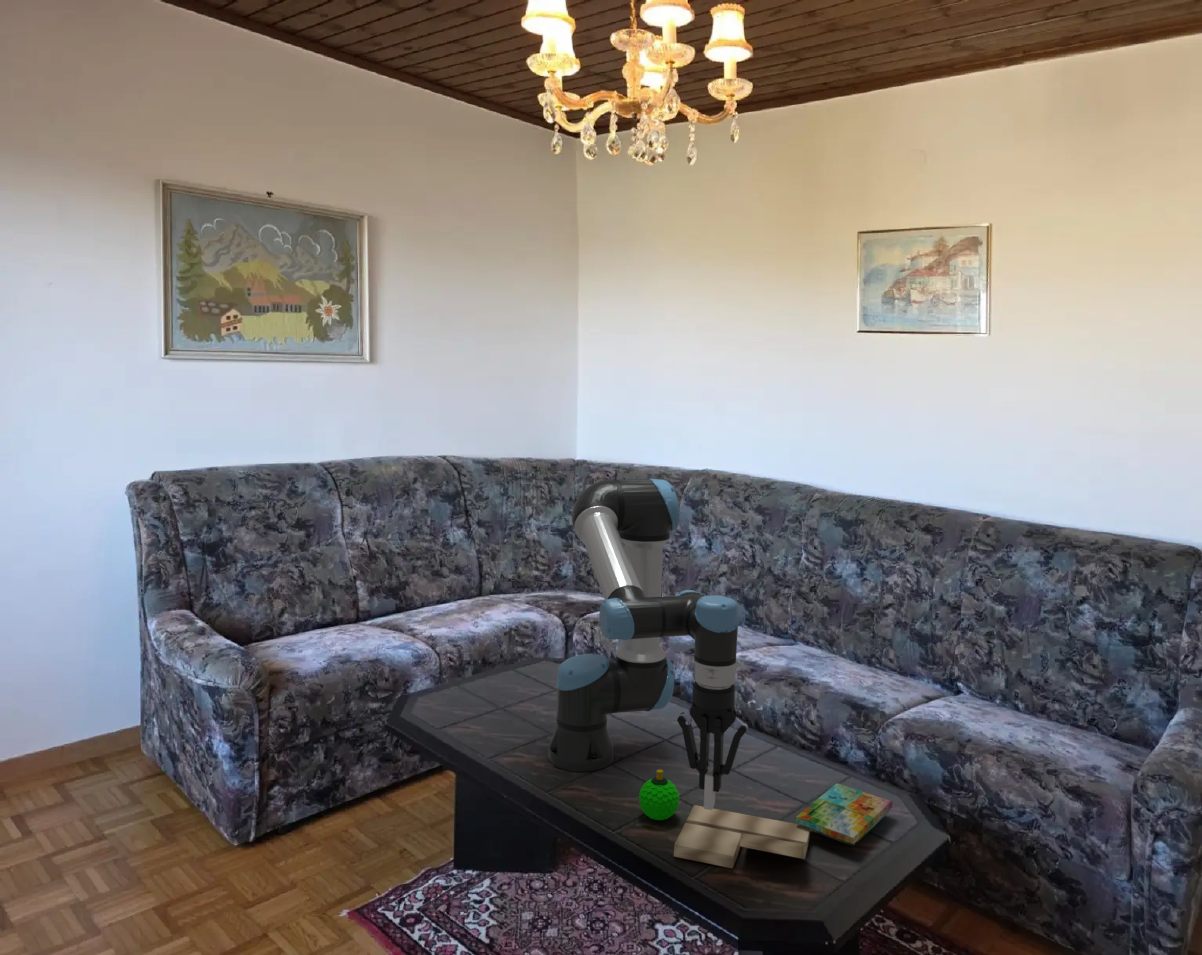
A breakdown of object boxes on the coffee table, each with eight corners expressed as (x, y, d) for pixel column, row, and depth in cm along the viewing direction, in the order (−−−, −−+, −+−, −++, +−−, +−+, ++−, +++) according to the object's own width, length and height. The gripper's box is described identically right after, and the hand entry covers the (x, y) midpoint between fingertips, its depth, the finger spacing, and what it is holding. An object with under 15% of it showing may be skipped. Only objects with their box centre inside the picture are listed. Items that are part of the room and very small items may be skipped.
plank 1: (673, 856, 163) (674, 844, 163) (685, 833, 172) (685, 822, 172) (732, 868, 160) (733, 856, 160) (741, 844, 168) (741, 833, 168)
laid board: (685, 833, 172) (686, 821, 172) (693, 815, 179) (694, 804, 178) (805, 856, 165) (806, 844, 164) (809, 837, 171) (810, 825, 171)
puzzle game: (892, 796, 179) (853, 833, 163) (891, 818, 179) (851, 857, 164) (838, 778, 186) (795, 812, 171) (836, 800, 187) (793, 835, 171)
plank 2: (739, 845, 159) (740, 832, 160) (745, 847, 167) (747, 834, 168) (801, 858, 156) (802, 844, 156) (804, 858, 163) (806, 845, 164)
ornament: (638, 807, 182) (639, 761, 181) (677, 808, 182) (679, 762, 180) (638, 827, 174) (639, 779, 173) (679, 829, 174) (681, 781, 172)
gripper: (673, 684, 158) (669, 808, 161) (746, 695, 153) (740, 822, 156) (684, 671, 165) (679, 790, 168) (753, 680, 160) (748, 803, 163)
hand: (709, 805), depth 162 cm, fingers closed
